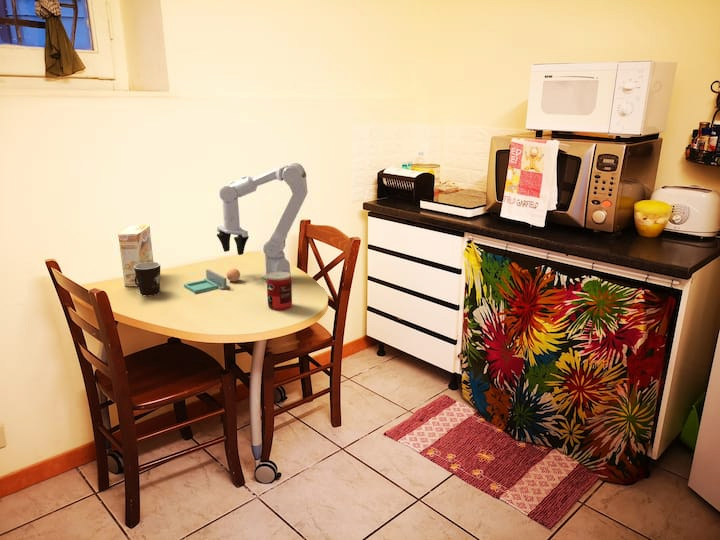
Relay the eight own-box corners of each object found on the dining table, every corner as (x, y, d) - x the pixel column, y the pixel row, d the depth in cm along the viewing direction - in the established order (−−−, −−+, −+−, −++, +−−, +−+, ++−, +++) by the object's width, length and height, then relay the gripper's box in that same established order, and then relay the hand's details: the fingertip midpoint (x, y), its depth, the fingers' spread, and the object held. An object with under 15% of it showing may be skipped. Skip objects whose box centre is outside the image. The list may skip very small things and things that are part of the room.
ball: (243, 281, 203) (242, 268, 201) (231, 284, 199) (230, 271, 198) (236, 278, 206) (235, 265, 205) (224, 280, 203) (223, 268, 202)
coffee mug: (153, 287, 196) (150, 260, 193) (168, 291, 191) (165, 264, 188) (124, 296, 187) (120, 268, 184) (138, 301, 182) (135, 272, 179)
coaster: (218, 288, 195) (218, 285, 195) (194, 293, 190) (194, 290, 189) (207, 282, 202) (207, 279, 201) (184, 287, 196) (183, 284, 196)
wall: (229, 288, 195) (228, 277, 194) (221, 289, 193) (221, 279, 192) (211, 278, 205) (210, 268, 204) (204, 280, 203) (203, 270, 202)
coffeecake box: (143, 286, 197) (137, 233, 191) (123, 286, 196) (116, 234, 190) (155, 273, 211) (150, 224, 205) (137, 273, 211) (131, 224, 205)
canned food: (270, 302, 182) (268, 270, 179) (293, 302, 182) (292, 271, 179) (265, 310, 175) (264, 278, 172) (290, 311, 175) (289, 278, 171)
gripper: (253, 218, 200) (255, 253, 204) (226, 213, 208) (228, 247, 212) (238, 221, 195) (241, 257, 199) (211, 216, 203) (214, 251, 207)
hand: (233, 252), depth 205 cm, fingers open, 7 cm apart
